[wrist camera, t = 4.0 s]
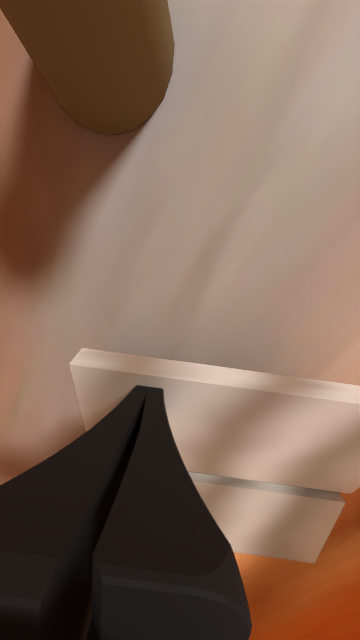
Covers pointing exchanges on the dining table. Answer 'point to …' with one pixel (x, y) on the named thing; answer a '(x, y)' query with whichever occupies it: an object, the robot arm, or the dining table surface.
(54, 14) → the cork
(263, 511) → the laid board
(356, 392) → the board
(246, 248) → the dining table surface
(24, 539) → the robot arm
